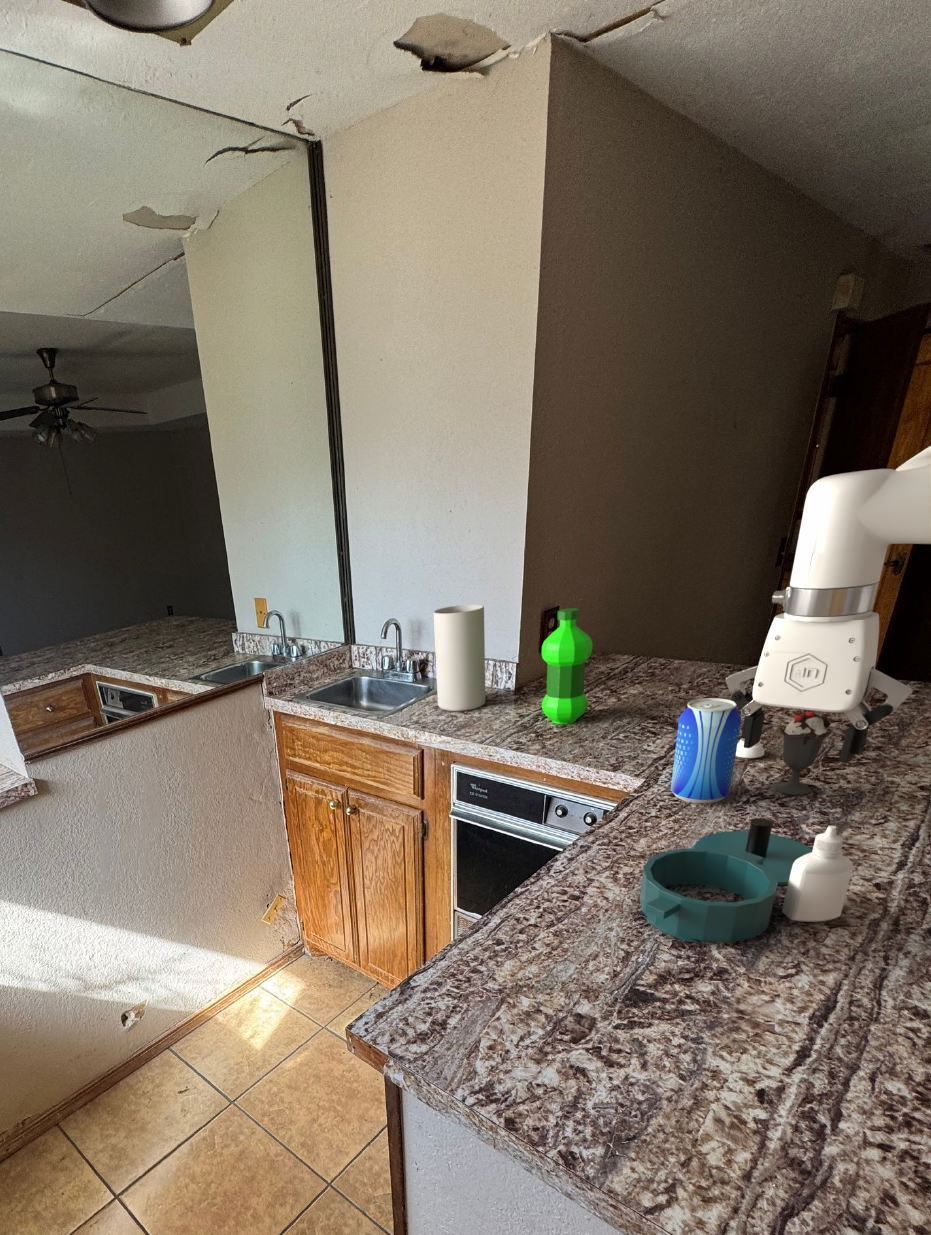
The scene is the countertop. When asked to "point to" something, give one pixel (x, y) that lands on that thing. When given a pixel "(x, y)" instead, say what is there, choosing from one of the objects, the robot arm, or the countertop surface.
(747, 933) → the pot
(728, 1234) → the countertop surface
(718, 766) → the beer can
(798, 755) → the sundae
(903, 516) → the robot arm
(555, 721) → the plastic bottle
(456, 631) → the cylinder vase
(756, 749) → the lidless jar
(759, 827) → the lid
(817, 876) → the eye dropper bottle
